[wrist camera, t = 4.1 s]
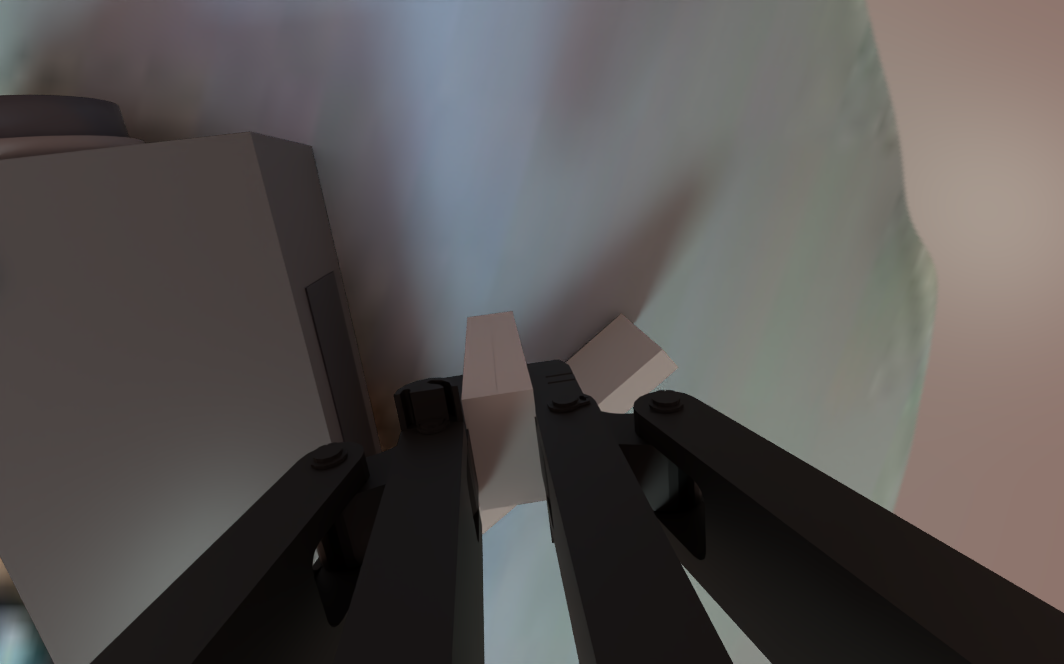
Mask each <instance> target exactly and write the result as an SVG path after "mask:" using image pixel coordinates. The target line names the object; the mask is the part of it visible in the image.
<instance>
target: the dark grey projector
mask: <svg viewBox="0 0 1064 664" xmlns="http://www.w3.org/2000/svg"><path fill="white" fill-rule="evenodd" d="M333 442H337V443H340V442H355V443H358V444H360V445H362V447H363V450H364V453H365V457H369V456H372V455H375V454H378V453H382V451H381V446H380V442H379V438H378V433H377V429H376V425H375V420H374V416H373V412H372V407H371V403H370V399H369V394H368V390H367V386H366V381H365V377H364V373H363V368H362V364H361V359H360V355H359V351H358V346H357V342H356V338H355V333H354V329H353V325H352V320H351V316H350V312H349V307H348V303H347V299H346V294H345V290H344V286H343V281H342V277H341V272H340V268H339V264H338V259H337V255H336V251H335V246H334V242H333V238H332V233H331V229H330V225H329V220H328V216H327V212H326V207H325V203H324V199H323V194H322V190H321V185H320V181H319V177H318V172H317V168H316V164H315V159H314V155H313V151H312V146H308V145H304V144H300V143H296V142H292V141H287V140H283V139H279V138H275V137H271V136H267V135H262V134H258V133H254V132H242V133H233V134H224V135H216V136H207V137H198V138H189V139H180V140H172V141H163V142H154V143H144V141H142V140H140V139H135V138H129V136H128V133H127V130H126V127H125V124H124V121H123V118H122V114H121V111H120V108H119V106H118V105H117V104H115V103H112V102H108V101H104V100H99V99H92V98H84V97H73V96H56V95H1V96H0V557H1V559H2V561H3V563H4V565H5V567H6V569H7V571H8V573H9V575H10V577H11V579H12V581H13V583H14V585H15V587H16V589H17V591H18V593H19V595H20V597H21V599H22V601H23V603H24V605H25V607H26V609H27V611H28V613H29V615H30V617H31V619H32V621H33V623H34V625H35V627H36V628H37V630H38V632H39V634H40V636H41V638H42V640H43V642H44V644H45V646H46V648H47V650H48V652H49V654H50V656H51V658H52V660H53V662H54V664H90V663H91V662H92V661H93V660H94V659H95V658H96V657H97V656H98V655H99V654H100V653H101V652H102V651H103V650H104V649H105V648H106V647H107V646H108V645H109V644H110V643H111V642H112V641H113V640H114V639H115V638H117V637H118V636H119V635H120V634H121V633H122V632H123V631H124V630H125V629H126V628H127V627H128V626H129V625H130V624H131V623H132V622H133V621H134V620H135V619H136V618H137V617H138V616H139V615H140V614H141V613H142V612H143V611H144V610H145V609H146V608H147V607H148V606H149V605H150V604H151V603H152V602H153V601H155V600H156V599H157V598H158V597H159V596H160V595H161V594H162V593H163V592H164V591H165V590H166V589H167V588H168V587H169V586H170V585H171V584H172V583H173V582H174V581H175V580H176V579H177V578H178V577H179V576H180V575H181V574H182V573H183V572H184V571H185V570H186V569H187V568H188V567H189V566H190V565H191V564H193V563H194V562H195V561H196V560H197V559H198V558H199V557H200V556H201V555H202V554H203V553H204V552H205V551H206V550H207V549H208V548H209V547H210V546H211V545H212V544H213V543H214V542H215V541H216V540H217V539H218V538H219V537H220V536H221V535H222V534H223V533H224V532H225V531H226V530H227V529H228V528H229V527H231V526H232V525H233V524H234V523H235V522H236V521H237V520H238V519H239V518H240V517H241V516H242V515H243V514H244V513H245V512H246V511H247V510H248V509H249V508H250V507H251V506H252V505H253V504H254V503H255V502H256V501H257V500H258V499H259V498H260V497H261V496H262V495H263V494H264V493H265V492H266V491H267V490H269V489H270V488H271V487H272V486H273V485H274V484H275V483H276V482H277V481H278V480H279V479H280V478H281V477H282V476H283V475H284V474H285V473H286V472H287V471H288V470H289V469H290V468H291V467H292V466H293V465H294V464H295V463H296V462H297V461H298V460H300V459H301V458H302V457H304V456H305V455H306V454H308V453H309V452H311V451H314V450H316V449H317V448H318V447H320V446H323V445H325V444H326V445H328V444H329V443H333ZM318 557H319V556H318V553H317V549H316V550H315V554H314V559H313V564H314V563H315V561H316V560H317V559H318Z"/></svg>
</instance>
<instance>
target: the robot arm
mask: <svg viewBox="0 0 1064 664" xmlns="http://www.w3.org/2000/svg"><path fill="white" fill-rule="evenodd" d="M394 399H395V403H396V408H397V413H398V417H399V422H400V426H401V434H400V437H399V441H398V444H397V446H396V447H394V448H392V449H389V450H387V451H384V452H382V453H378V454H375V455H372V456H369V457H365V453H364V450H363V447H362V445H360V444H358V443H355V442H340V443H337V442H333V443H329V444H328V445H326V444H325V445H323V446H320V447H318V448H317V449H316V450H314V451H311V452H309V453H308V454H306V455H305V456H304V457H302V458H301V459H300V460H298V461H297V462H296V463H295V464H294V465H293V466H292V467H291V468H290V469H289V470H288V471H287V472H286V473H285V474H284V475H283V476H282V477H281V478H280V479H279V480H278V481H277V482H276V483H275V484H274V485H273V486H272V487H271V488H270V489H269V490H267V491H266V492H265V493H264V494H263V495H262V496H261V497H260V498H259V499H258V500H257V501H256V502H255V503H254V504H253V505H252V506H251V507H250V508H249V509H248V510H247V511H246V512H245V513H244V514H243V515H242V516H241V517H240V518H239V519H238V520H237V521H236V522H235V523H234V524H233V525H232V526H231V527H229V528H228V529H227V530H226V531H225V532H224V533H223V534H222V535H221V536H220V537H219V538H218V539H217V540H216V541H215V542H214V543H213V544H212V545H211V546H210V547H209V548H208V549H207V550H206V551H205V552H204V553H203V554H202V555H201V556H200V557H199V558H198V559H197V560H196V561H195V562H194V563H193V564H191V565H190V566H189V567H188V568H187V569H186V570H185V571H184V572H183V573H182V574H181V575H180V576H179V577H178V578H177V579H176V580H175V581H174V582H173V583H172V584H171V585H170V586H169V587H168V588H167V589H166V590H165V591H164V592H163V593H162V594H161V595H160V596H159V597H158V598H157V599H156V600H155V601H153V602H152V603H151V604H150V605H149V606H148V607H147V608H146V609H145V610H144V611H143V612H142V613H141V614H140V615H139V616H138V617H137V618H136V619H135V620H134V621H133V622H132V623H131V624H130V625H129V626H128V627H127V628H126V629H125V630H124V631H123V632H122V633H121V634H120V635H119V636H118V637H117V638H115V639H114V640H113V641H112V642H111V643H110V644H109V645H108V646H107V647H106V648H105V649H104V650H103V651H102V652H101V653H100V654H99V655H98V656H97V657H96V658H95V659H94V660H93V661H92V662H91V663H90V664H484V610H483V552H482V522H481V516H480V510H479V504H480V509H481V511H483V510H489V509H495V508H502V507H508V506H514V505H520V504H526V503H532V502H538V501H544V500H547V506H548V514H549V522H550V530H551V538H552V543H555V548H556V553H557V557H558V562H559V567H560V572H561V577H562V582H563V586H564V591H565V596H566V601H567V606H568V611H569V615H570V620H571V625H572V630H573V635H574V640H575V644H576V649H577V654H578V659H579V664H733V662H732V660H731V658H730V656H729V655H728V653H727V651H726V649H725V647H724V645H723V643H722V641H721V639H720V637H719V635H718V634H717V632H716V630H715V628H714V626H713V624H712V622H711V620H710V618H709V616H708V614H707V612H706V611H705V609H704V607H703V605H702V603H701V601H700V599H699V597H698V595H697V593H696V591H695V590H694V588H693V586H692V584H691V582H690V580H689V578H688V576H687V574H686V572H685V570H684V569H683V567H682V565H683V566H684V567H685V568H686V569H687V570H688V571H689V573H690V574H691V575H692V576H693V577H694V578H695V579H696V580H697V581H698V582H699V584H700V585H701V586H702V587H703V588H704V589H705V590H706V591H707V592H708V594H709V595H710V596H711V597H712V598H713V599H714V600H715V601H716V602H717V603H718V605H719V606H720V607H721V608H722V609H723V610H724V611H725V612H726V613H727V614H728V616H729V617H730V618H731V619H732V620H733V621H734V622H735V623H736V624H737V626H738V627H739V628H740V629H741V630H742V631H743V632H744V633H745V634H746V635H747V637H748V638H749V639H750V640H751V641H752V642H753V643H754V644H755V645H756V646H757V648H758V649H759V650H760V651H761V652H762V653H763V654H764V655H765V656H766V657H767V659H768V660H769V661H770V662H771V663H772V664H1064V613H1063V612H1061V611H1059V610H1057V609H1056V608H1054V607H1053V606H1051V605H1049V604H1047V603H1046V602H1044V601H1042V600H1041V599H1039V598H1037V597H1035V596H1034V595H1032V594H1030V593H1029V592H1027V591H1025V590H1023V589H1022V588H1020V587H1018V586H1016V585H1014V584H1013V583H1011V582H1009V581H1008V580H1006V579H1005V578H1003V577H1001V576H999V575H998V574H996V573H994V572H993V571H991V570H989V569H987V568H986V567H984V566H982V565H980V564H979V563H977V562H975V561H974V560H972V559H970V558H969V557H967V556H965V555H963V554H962V553H960V552H958V551H957V550H955V549H953V548H951V547H950V546H948V545H946V544H945V543H943V542H941V541H939V540H938V539H936V538H934V537H932V536H931V535H929V534H927V533H926V532H924V531H922V530H921V529H919V528H917V527H915V526H914V525H912V524H910V523H909V522H907V521H905V520H903V519H902V518H900V517H898V516H897V515H895V514H893V513H891V512H890V511H888V510H886V509H885V508H883V507H881V506H880V505H878V504H876V503H874V502H873V501H871V500H869V499H868V498H866V497H864V496H862V495H861V494H859V493H857V492H856V491H854V490H852V489H850V488H849V487H847V486H845V485H844V484H842V483H840V482H838V481H837V480H835V479H833V478H832V477H830V476H828V475H826V474H825V473H823V472H821V471H820V470H818V469H816V468H814V467H813V466H811V465H809V464H808V463H806V462H804V461H802V460H801V459H799V458H797V457H796V456H794V455H792V454H790V453H789V452H787V451H785V450H784V449H782V448H780V447H778V446H777V445H775V444H773V443H772V442H770V441H768V440H766V439H765V438H763V437H761V436H760V435H758V434H756V433H754V432H753V431H751V430H749V429H748V428H746V427H744V426H742V425H741V424H739V423H737V422H736V421H734V420H732V419H730V418H729V417H727V416H725V415H724V414H722V413H720V412H718V411H717V410H715V409H713V408H712V407H710V406H708V405H706V404H705V403H703V402H701V401H700V400H698V399H696V398H694V397H692V396H690V395H687V394H685V393H680V392H675V391H673V390H666V391H664V390H659V391H656V392H653V393H648V394H645V395H643V396H640V397H639V398H638V399H637V400H636V401H635V402H634V407H633V409H634V414H620V413H609V412H603V411H601V410H600V408H599V406H598V404H597V402H596V401H595V400H594V399H593V398H592V397H591V396H589V395H586V394H583V392H582V390H581V388H580V386H579V384H578V382H577V380H576V378H575V376H574V374H573V372H572V370H571V368H570V366H569V365H568V364H566V363H564V362H563V361H561V360H552V361H545V362H538V363H532V364H526V361H525V357H524V353H523V350H522V346H521V342H520V338H519V334H518V330H517V327H516V323H515V319H514V315H513V311H509V312H502V313H495V314H488V315H481V316H474V317H467V330H466V343H465V357H464V371H463V375H460V376H453V377H447V378H428V379H424V380H419V381H416V382H413V383H410V384H408V385H405V386H404V387H402V388H400V389H399V390H398V391H397V392H396V393H395V394H394ZM316 549H317V553H318V556H319V557H318V559H317V560H316V561H315V563H314V564H313V559H314V554H315V550H316ZM681 564H682V565H681Z"/></svg>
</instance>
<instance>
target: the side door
mask: <svg viewBox="0 0 1064 664" xmlns="http://www.w3.org/2000/svg"><path fill="white" fill-rule="evenodd" d="M566 364H568V365H569V366H570V368H571V370H572V372H573V374H574V376H575V378H576V380H577V382H578V384H579V386H580V388H581V390H582V392H583V394H586V395H589V396H591V397H592V398H593V399H594V400H595V401H596V402H597V404H598V406H599V408H600V410H601V411H603V412H609V413H620V414H624V413H626V412H627V411H628V410H629V409H630V408H632V407H633V406H634V402H635V401H636V400H637V399H638V398H639V397H640V396H643V395H645V394H648V393H649V392H650V391H652V390H653V389H654V388H655V387H656V386H657V385H659V384H660V383H661V382H662V381H663V380H664V379H666V378H667V377H668V376H669V375H670V374H671V373H673V372H674V371H675V370H676V369H677V368H678V367H677V365H676V364H675V363H674V362H673V361H672V360H671V358H670V357H669V356H668V355H667V354H666V353H665V351H664V350H663V349H662V348H661V347H659V346H658V345H657V344H656V343H655V342H654V341H652V340H651V339H650V338H649V337H648V336H647V335H646V334H644V333H643V332H642V331H641V330H640V329H639V328H638V327H636V326H635V325H634V324H633V323H632V322H631V321H629V320H628V319H627V318H626V317H625V316H624V315H623V314H620V315H619V316H618V317H617V318H616V319H615V320H613V321H612V322H611V323H610V324H609V325H608V326H607V327H605V328H604V329H603V330H602V331H601V332H600V333H599V334H598V335H596V336H595V337H594V338H593V339H592V340H591V341H590V342H588V343H587V344H586V345H585V346H584V347H583V348H582V349H580V350H579V351H578V352H577V353H576V354H575V355H574V356H573V357H571V358H570V359H569V360H568V361H567V362H566ZM515 506H516V505H514V506H508V507H502V508H495V509H489V510H483V511H481V509H480V504H479V510H480V516H481V522H482V534H484V533H485V532H486V531H487V530H488V529H489V528H491V527H492V526H493V525H494V524H495V523H496V522H498V521H499V520H500V519H501V518H502V517H503V516H505V515H506V514H507V513H508V512H509V511H511V510H512V509H513V508H514V507H515Z"/></svg>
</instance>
